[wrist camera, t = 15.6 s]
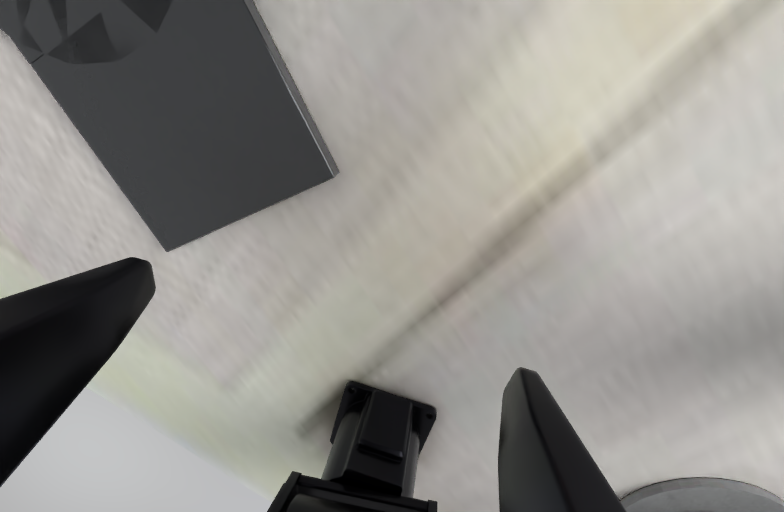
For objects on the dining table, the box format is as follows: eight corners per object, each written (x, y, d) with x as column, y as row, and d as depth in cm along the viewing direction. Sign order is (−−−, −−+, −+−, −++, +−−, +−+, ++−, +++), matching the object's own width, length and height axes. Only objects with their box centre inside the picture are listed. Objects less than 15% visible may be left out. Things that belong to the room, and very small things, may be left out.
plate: (354, 166, 21) (349, 171, 20) (167, 250, 25) (156, 257, 24) (35, -483, 13) (3, -523, 12) (-154, -195, 17) (-188, -208, 16)
